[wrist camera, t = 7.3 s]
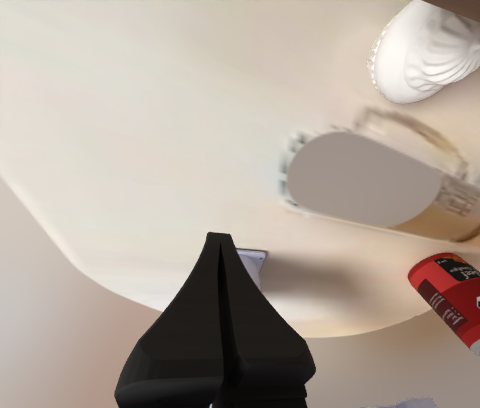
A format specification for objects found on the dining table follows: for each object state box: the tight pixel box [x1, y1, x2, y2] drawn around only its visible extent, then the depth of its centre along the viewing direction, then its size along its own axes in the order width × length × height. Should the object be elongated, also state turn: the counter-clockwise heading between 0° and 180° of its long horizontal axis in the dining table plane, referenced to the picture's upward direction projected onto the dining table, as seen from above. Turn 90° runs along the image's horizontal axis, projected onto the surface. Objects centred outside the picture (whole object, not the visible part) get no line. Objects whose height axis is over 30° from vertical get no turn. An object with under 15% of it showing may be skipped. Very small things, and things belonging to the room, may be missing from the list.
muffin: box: [367, 0, 480, 104], centre depth 13 cm, size 6×6×7 cm
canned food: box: [408, 253, 480, 356], centre depth 28 cm, size 8×8×11 cm
